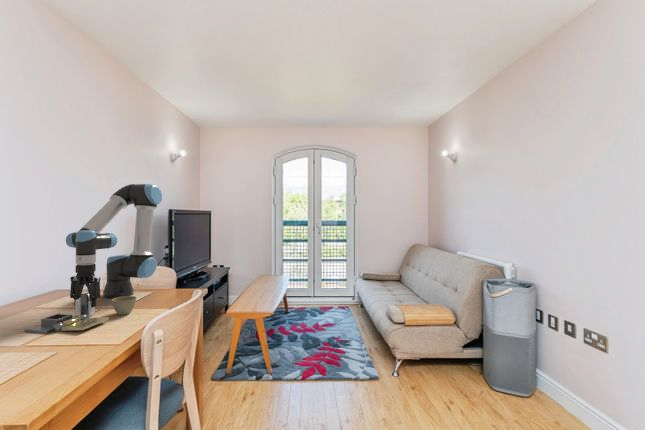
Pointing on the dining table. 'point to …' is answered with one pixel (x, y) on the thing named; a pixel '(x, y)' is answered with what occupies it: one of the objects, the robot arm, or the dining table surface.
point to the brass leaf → (82, 323)
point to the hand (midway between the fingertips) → (85, 313)
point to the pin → (84, 303)
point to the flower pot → (124, 304)
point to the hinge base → (53, 323)
